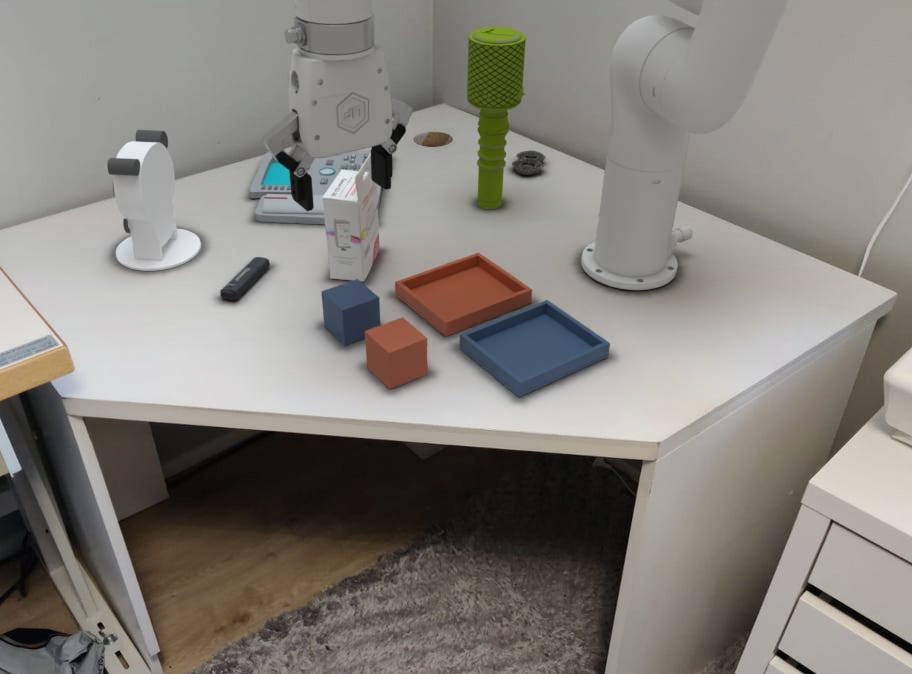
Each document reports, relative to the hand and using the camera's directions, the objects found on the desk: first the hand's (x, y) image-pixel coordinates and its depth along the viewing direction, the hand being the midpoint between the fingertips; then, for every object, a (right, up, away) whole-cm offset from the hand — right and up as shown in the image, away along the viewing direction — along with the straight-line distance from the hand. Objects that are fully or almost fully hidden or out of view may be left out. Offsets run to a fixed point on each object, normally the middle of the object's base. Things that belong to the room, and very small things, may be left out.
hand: (343, 195), depth 97 cm
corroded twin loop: (+25, +15, +46) cm, 55 cm away
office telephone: (-8, +10, +40) cm, 42 cm away
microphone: (+19, +6, +36) cm, 41 cm away
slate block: (0, -14, +10) cm, 17 cm away
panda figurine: (-28, -2, +25) cm, 38 cm away
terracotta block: (+6, -19, +3) cm, 20 cm away
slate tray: (+22, -17, +6) cm, 28 cm away
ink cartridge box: (-1, -5, +22) cm, 22 cm away
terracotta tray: (+14, -10, +15) cm, 23 cm away
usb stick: (-14, -8, +18) cm, 24 cm away
